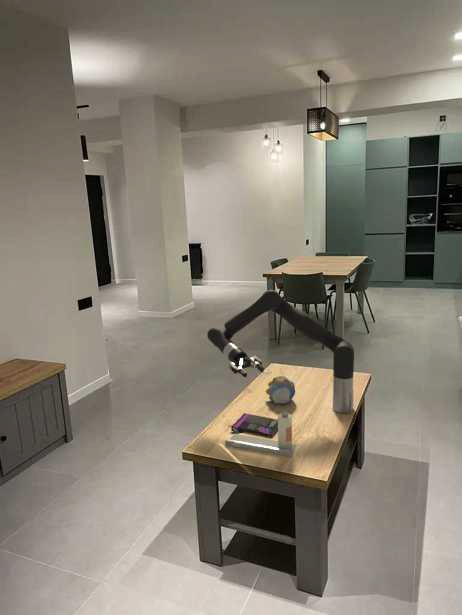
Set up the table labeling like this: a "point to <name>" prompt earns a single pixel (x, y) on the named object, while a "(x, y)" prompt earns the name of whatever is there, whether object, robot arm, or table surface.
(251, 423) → the box
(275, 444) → the shelf board
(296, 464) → the table surface
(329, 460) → the table surface
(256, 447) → the rail
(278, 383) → the decorative rock
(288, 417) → the cream bottle
